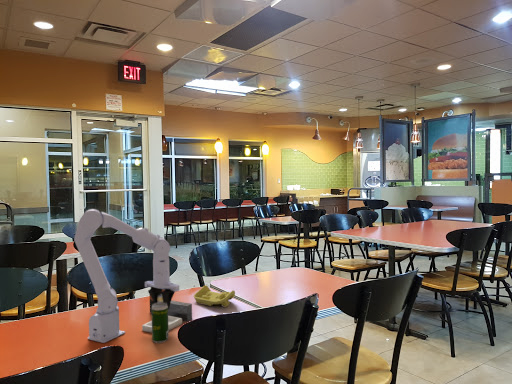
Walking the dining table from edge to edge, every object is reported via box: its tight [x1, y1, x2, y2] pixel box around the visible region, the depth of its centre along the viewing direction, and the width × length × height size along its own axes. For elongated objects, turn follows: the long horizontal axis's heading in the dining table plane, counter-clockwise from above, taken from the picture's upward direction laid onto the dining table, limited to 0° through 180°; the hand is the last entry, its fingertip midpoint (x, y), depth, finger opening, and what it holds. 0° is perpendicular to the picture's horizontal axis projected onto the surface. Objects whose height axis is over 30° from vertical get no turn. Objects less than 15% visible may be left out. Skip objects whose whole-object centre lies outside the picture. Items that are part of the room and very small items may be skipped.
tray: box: [141, 316, 183, 334], centre depth 140 cm, size 12×9×2 cm
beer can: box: [151, 302, 170, 344], centre depth 128 cm, size 5×5×12 cm
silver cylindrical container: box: [157, 294, 163, 303], centre depth 140 cm, size 4×4×7 cm
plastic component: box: [193, 285, 236, 308], centre depth 166 cm, size 20×7×10 cm
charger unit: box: [168, 300, 193, 323], centre depth 149 cm, size 3×10×6 cm, turn 63°
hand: (162, 308), depth 140 cm, fingers closed on silver cylindrical container, 4 cm apart
